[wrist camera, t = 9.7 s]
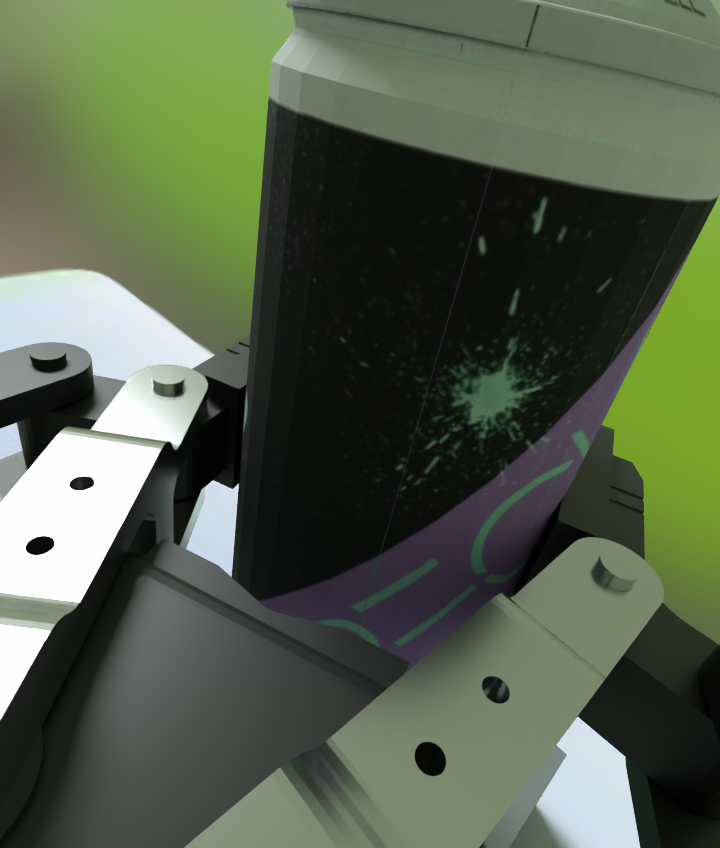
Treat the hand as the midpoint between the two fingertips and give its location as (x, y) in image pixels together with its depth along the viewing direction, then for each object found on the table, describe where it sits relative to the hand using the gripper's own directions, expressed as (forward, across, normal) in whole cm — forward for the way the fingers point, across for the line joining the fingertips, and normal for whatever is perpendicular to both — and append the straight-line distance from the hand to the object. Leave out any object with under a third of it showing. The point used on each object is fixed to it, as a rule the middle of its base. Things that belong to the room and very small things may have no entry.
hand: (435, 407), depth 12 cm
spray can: (-3, 0, +11) cm, 11 cm away
